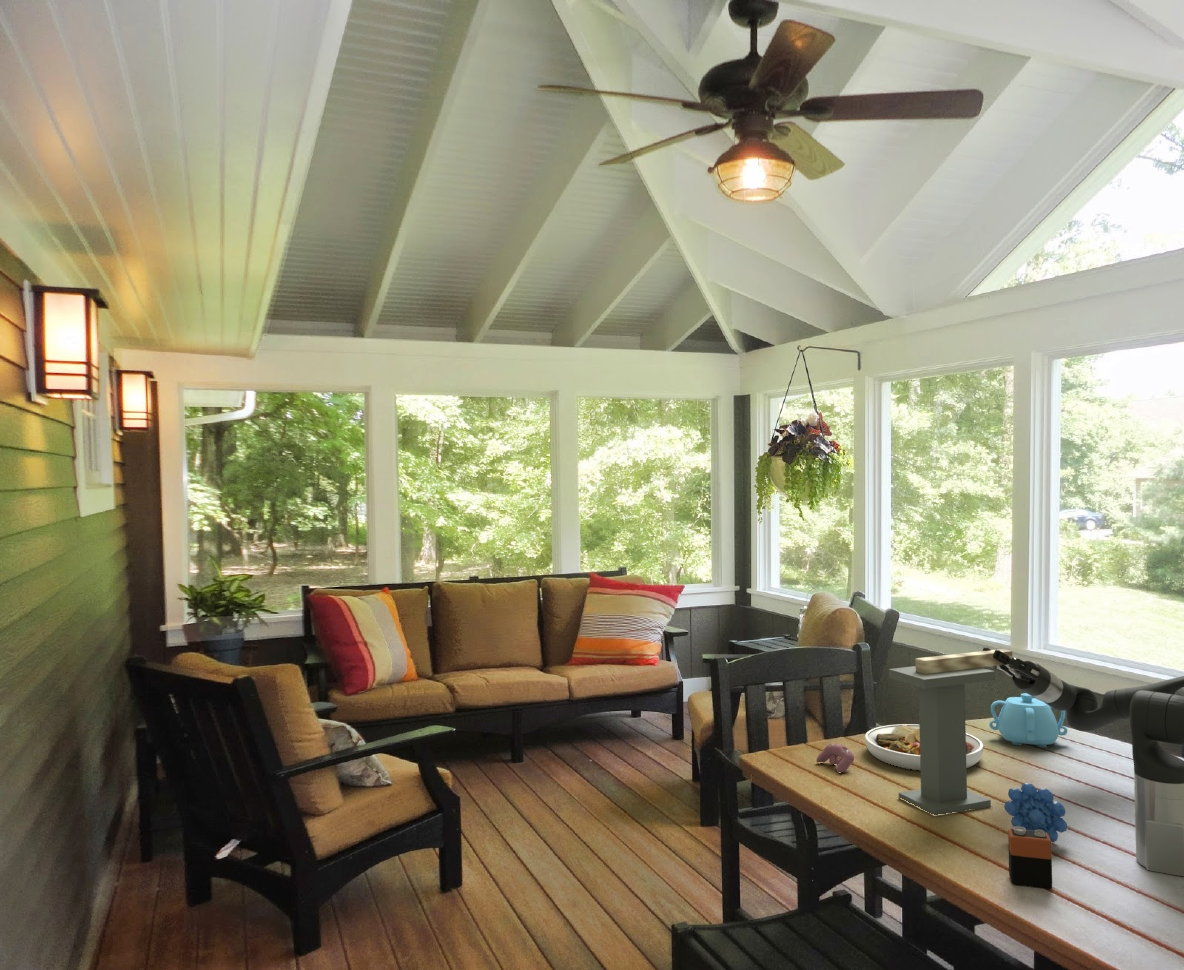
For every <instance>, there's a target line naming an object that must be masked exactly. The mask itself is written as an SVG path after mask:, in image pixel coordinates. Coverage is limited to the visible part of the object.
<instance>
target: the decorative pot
mask: <svg viewBox="0 0 1184 970" xmlns="http://www.w3.org/2000/svg"><path fill="white" fill-rule="evenodd" d="M997 705H1002V707H1001V710H1000V713H999V715H998V716H997V714H996V710H995V709H996V708H995V706H997ZM1052 709H1054V708H1053V707H1051V706H1049V705H1047V704H1046V703H1044V702H1043V701H1040V700H1038V699H1036V698H1034V697H1032V696H1031V695H1029V694H1027V693H1026V692H1024V693H1020V696H1011V697H1008V698H1006V700H1001V699H1000V700H996V701H993V702H992V704H991V705H990V713H991V716H992V718H993V720H990V721H989V728H990V729H991V730H993V731H999V733H1000V734H1001V736H1002V737H1003V739H1004V740H1006V741H1008V742H1011V744H1012V745H1015V746H1021V745H1022V744H1025V745H1026V744H1027V745H1036V747H1040V748H1047V747H1048V746H1047V745H1052V744H1054V743H1055V742H1056V741H1057V739H1058V738H1059V736H1066V735H1067V734H1068V728H1067V727H1066V726H1064V725H1063V723H1064V721H1065V718H1066V710H1064V711H1060V718H1059V720H1057V718H1056V715H1055V714H1054V712H1053V710H1052ZM993 724H995V726H994V725H993ZM1061 729H1062V730H1063V731H1061Z"/></svg>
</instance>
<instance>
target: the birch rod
mask: <svg viewBox="0 0 1184 970" xmlns="http://www.w3.org/2000/svg"><path fill="white" fill-rule="evenodd" d="M995 650H996V649H991V650H989V651H983V650H980V651H972V652H963V653H953V654H944V655H943V654H942V655H935V656H925V657H915V666H916V672H920V673H923V674H928V673H937V672H945V671H954V670H962V669H971V668H979V667H980V668H985V667H986V668H987V667H992V666H997V665H1005V664H1002V663H1001V662H999V661H997V660H996V659H994V658H993V655H994V652H995ZM997 650H999V651H1001V652H1003V653H1004V654H1006V655H1008V656H1012V657H1013V650H1009V649H1003V648H1000V649H999V648H998V649H997Z"/></svg>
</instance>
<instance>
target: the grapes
mask: <svg viewBox="0 0 1184 970" xmlns="http://www.w3.org/2000/svg"><path fill="white" fill-rule="evenodd" d="M1007 794H1008V797H1009V799H1010V800H1008V801H1005V802H1004V805H1003V806H1004V811H1006V813H1007V814H1008V815H1010V816H1011V817H1012V818H1011V820H1010V821H1011V825H1012V826H1013V828H1014V827H1017V826H1019V827H1023V828H1025V830H1029V831H1035V830H1043V831H1044V832H1046V833H1047V834H1048V836H1049V838H1050V840H1051V843H1055V842H1057V841H1058V839H1059V834H1058V833H1064V832H1067V830H1068V824H1067V821H1065V819H1064V818H1063V817H1065V816H1066V812H1067V811H1066V808H1065V806H1064V805H1063V804H1062V803H1061V802H1059V801H1054V800H1055V799H1054V798H1055V797H1054V794H1053V792H1052V791H1051V790H1050V789H1047V788H1044V787H1042V788H1039V789H1038V790H1037V788H1036V786H1035V785H1034V784H1032V783H1031V782H1024V783H1022V784H1021V787H1020V788H1017V787H1011V788H1009V789H1008V793H1007Z"/></svg>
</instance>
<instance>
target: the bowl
mask: <svg viewBox="0 0 1184 970" xmlns="http://www.w3.org/2000/svg"><path fill="white" fill-rule="evenodd" d="M864 735H865V736H864V740H865V745H866V748H867V750H868V751H869V752H870V754H872V756H874V757H875V758H876V759H878V760H879V761H882V762H883V763H885V764H887V763H888V765H890V764H891V766H893V765H894V767H896V766H898V767H897V768H900V767H901V768H900V769H905V768H906V770H910V769H912V770H911V771H916V770H919V771H918V772H921V769H920V725H919V724H915V723H913V724H912V723H911V724H907V723H905V724H904V723H903V724H902V723H901V724H888V725H883V726H882V725H881V726H878V727H875V728H872V729H870V730H868V731H867V732H866V733H865V734H864ZM983 753H984V743H983V742H982V740H980V739H979V738H977V737H976V736H974V735H972V734H970V733H967V732H966V769H968V768H971V767H973V766H975V765H976V764H978V762H979V761H980V760H981V759H982V755H983Z"/></svg>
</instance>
